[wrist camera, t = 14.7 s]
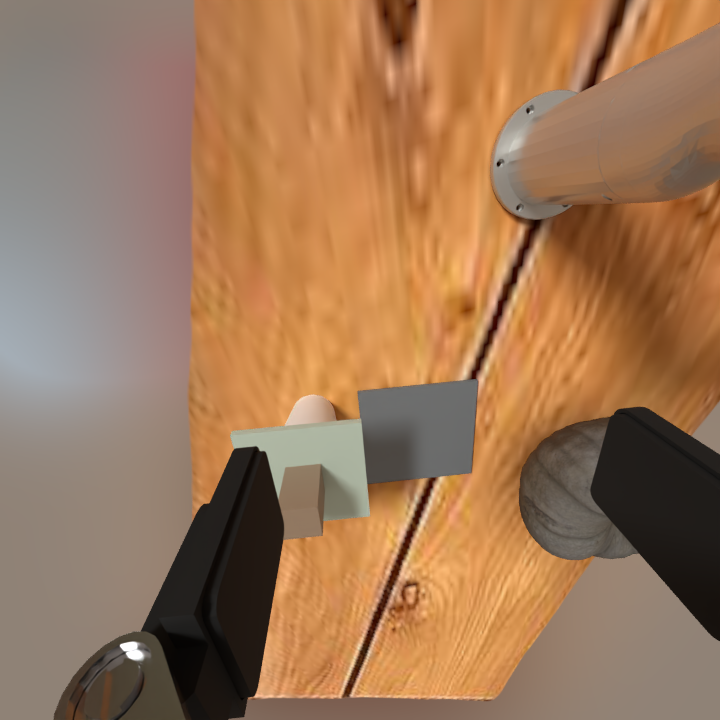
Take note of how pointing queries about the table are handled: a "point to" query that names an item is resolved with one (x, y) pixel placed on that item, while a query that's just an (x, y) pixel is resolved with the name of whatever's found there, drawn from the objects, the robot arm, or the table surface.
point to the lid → (313, 472)
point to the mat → (418, 430)
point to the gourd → (569, 496)
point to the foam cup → (311, 411)
